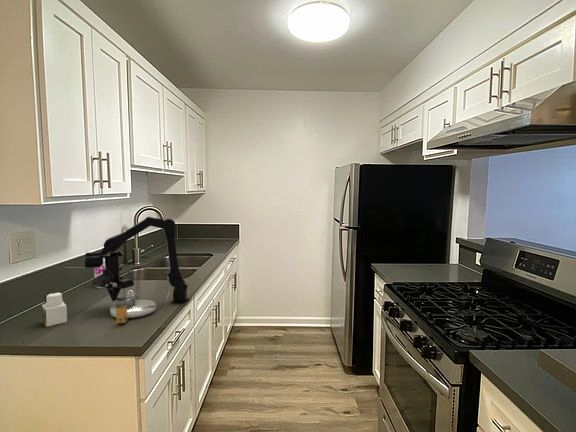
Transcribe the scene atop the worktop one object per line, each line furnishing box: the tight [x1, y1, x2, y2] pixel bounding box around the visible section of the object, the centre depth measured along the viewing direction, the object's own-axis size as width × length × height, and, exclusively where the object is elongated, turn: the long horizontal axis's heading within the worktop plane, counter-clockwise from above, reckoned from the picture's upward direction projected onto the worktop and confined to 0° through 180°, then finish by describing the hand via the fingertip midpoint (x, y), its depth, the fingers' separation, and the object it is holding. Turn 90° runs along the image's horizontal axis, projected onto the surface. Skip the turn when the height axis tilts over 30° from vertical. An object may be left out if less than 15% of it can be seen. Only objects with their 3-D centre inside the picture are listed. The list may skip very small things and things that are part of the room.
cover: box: [114, 295, 136, 308], centre depth 153 cm, size 8×8×4 cm
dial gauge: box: [125, 289, 139, 300], centre depth 164 cm, size 4×4×6 cm
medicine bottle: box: [41, 291, 68, 328], centre depth 140 cm, size 7×7×12 cm
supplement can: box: [93, 257, 105, 289], centre depth 190 cm, size 8×8×15 cm
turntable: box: [109, 299, 157, 324], centre depth 149 cm, size 23×18×6 cm
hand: (113, 300), depth 155 cm, fingers closed
